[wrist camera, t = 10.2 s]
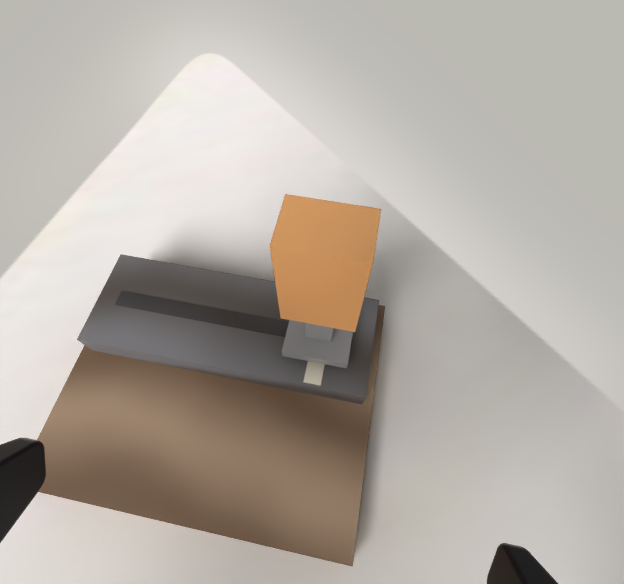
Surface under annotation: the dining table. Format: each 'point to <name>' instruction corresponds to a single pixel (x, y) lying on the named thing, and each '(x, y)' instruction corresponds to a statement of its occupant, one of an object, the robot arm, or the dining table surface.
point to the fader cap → (322, 274)
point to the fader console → (213, 413)
